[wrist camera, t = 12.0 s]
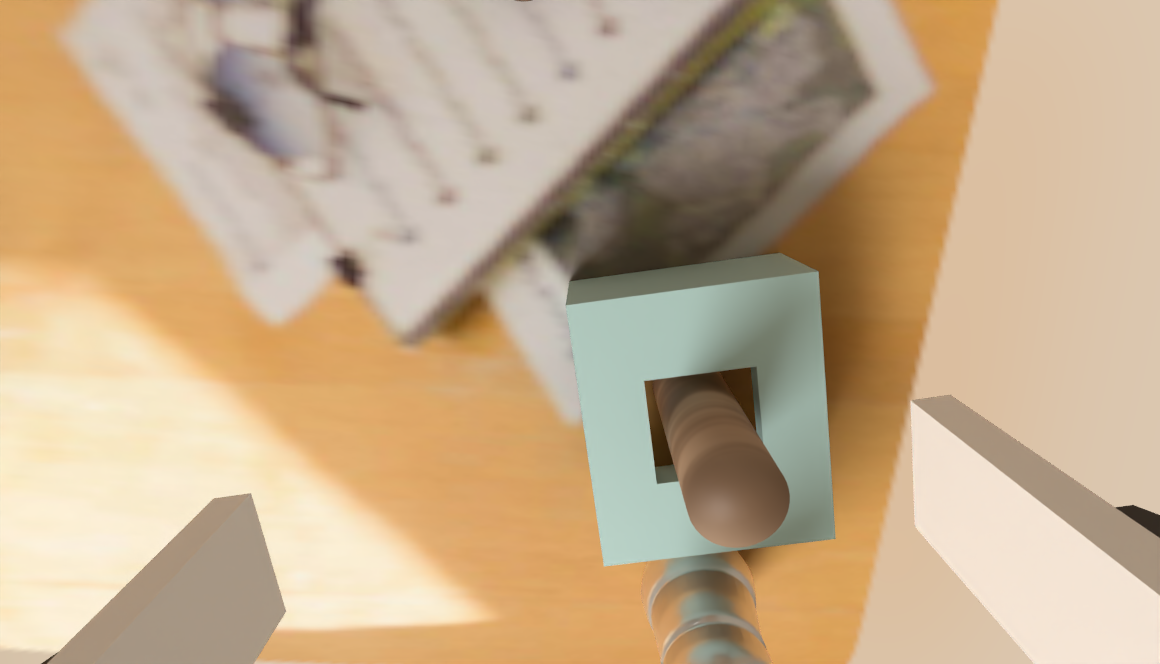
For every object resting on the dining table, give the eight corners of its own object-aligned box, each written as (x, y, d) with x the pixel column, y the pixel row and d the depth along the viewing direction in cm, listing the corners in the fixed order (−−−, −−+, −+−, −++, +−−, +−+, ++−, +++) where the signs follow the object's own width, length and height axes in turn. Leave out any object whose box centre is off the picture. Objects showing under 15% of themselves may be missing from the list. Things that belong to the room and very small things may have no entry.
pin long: (648, 355, 42) (681, 460, 28) (716, 346, 42) (785, 446, 27) (656, 419, 43) (692, 553, 28) (723, 411, 43) (793, 541, 28)
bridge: (569, 281, 41) (565, 305, 34) (779, 252, 41) (818, 271, 34) (601, 503, 44) (603, 566, 38) (796, 479, 44) (835, 538, 37)
